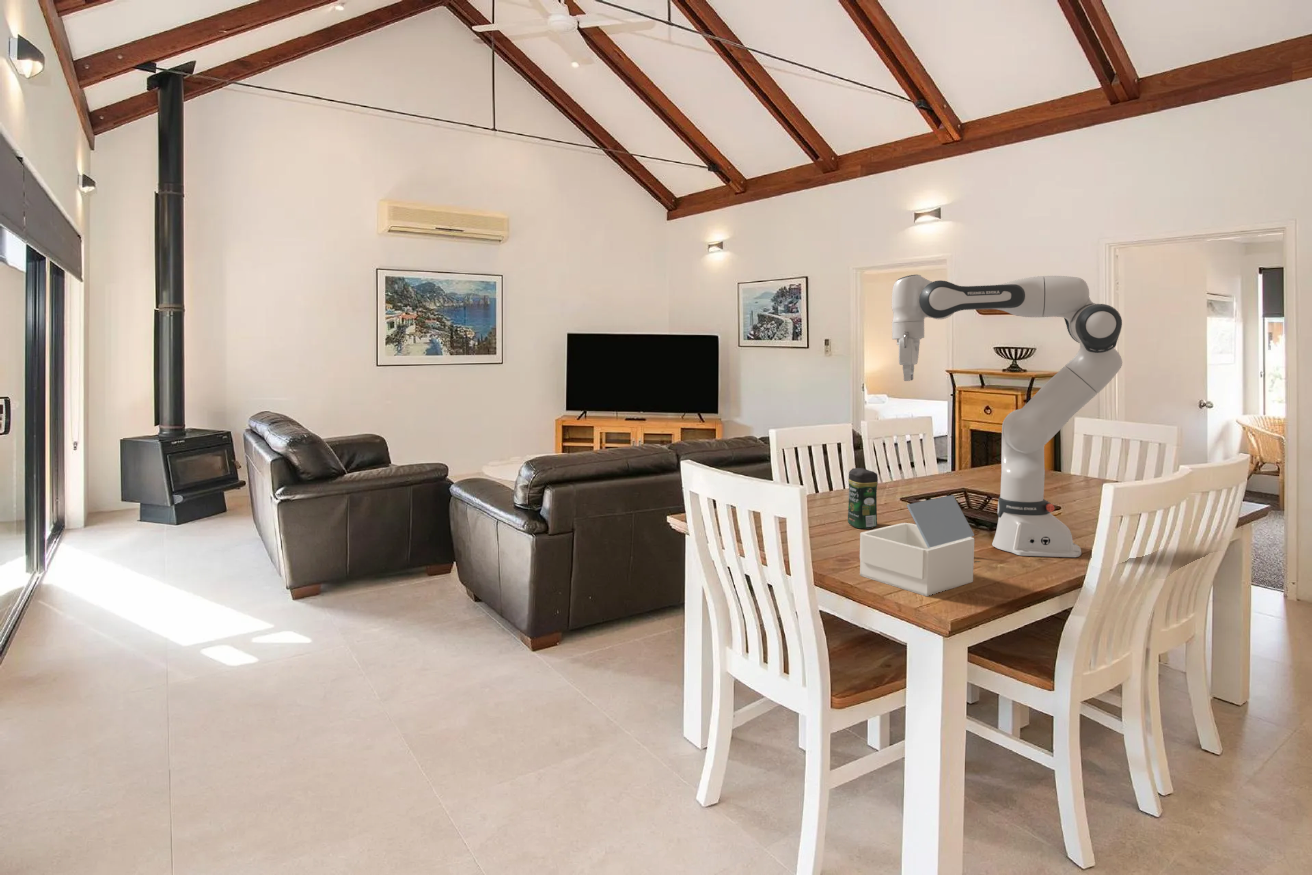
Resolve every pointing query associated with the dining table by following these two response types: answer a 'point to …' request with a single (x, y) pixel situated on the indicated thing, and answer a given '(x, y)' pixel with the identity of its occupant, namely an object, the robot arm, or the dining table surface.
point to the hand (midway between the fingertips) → (908, 380)
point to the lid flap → (940, 521)
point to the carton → (915, 560)
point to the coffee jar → (862, 498)
